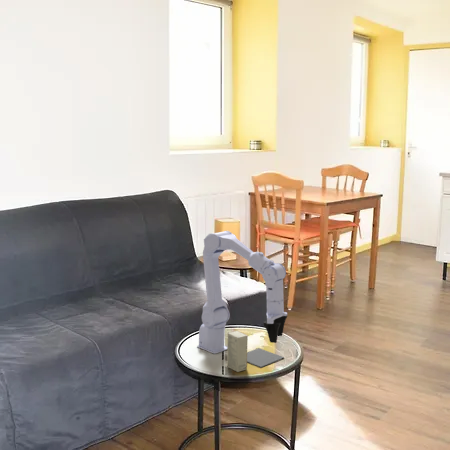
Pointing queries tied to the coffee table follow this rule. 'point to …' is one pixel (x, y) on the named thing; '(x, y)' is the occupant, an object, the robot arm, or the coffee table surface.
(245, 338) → the skincare box
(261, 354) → the mat
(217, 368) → the coffee table surface
